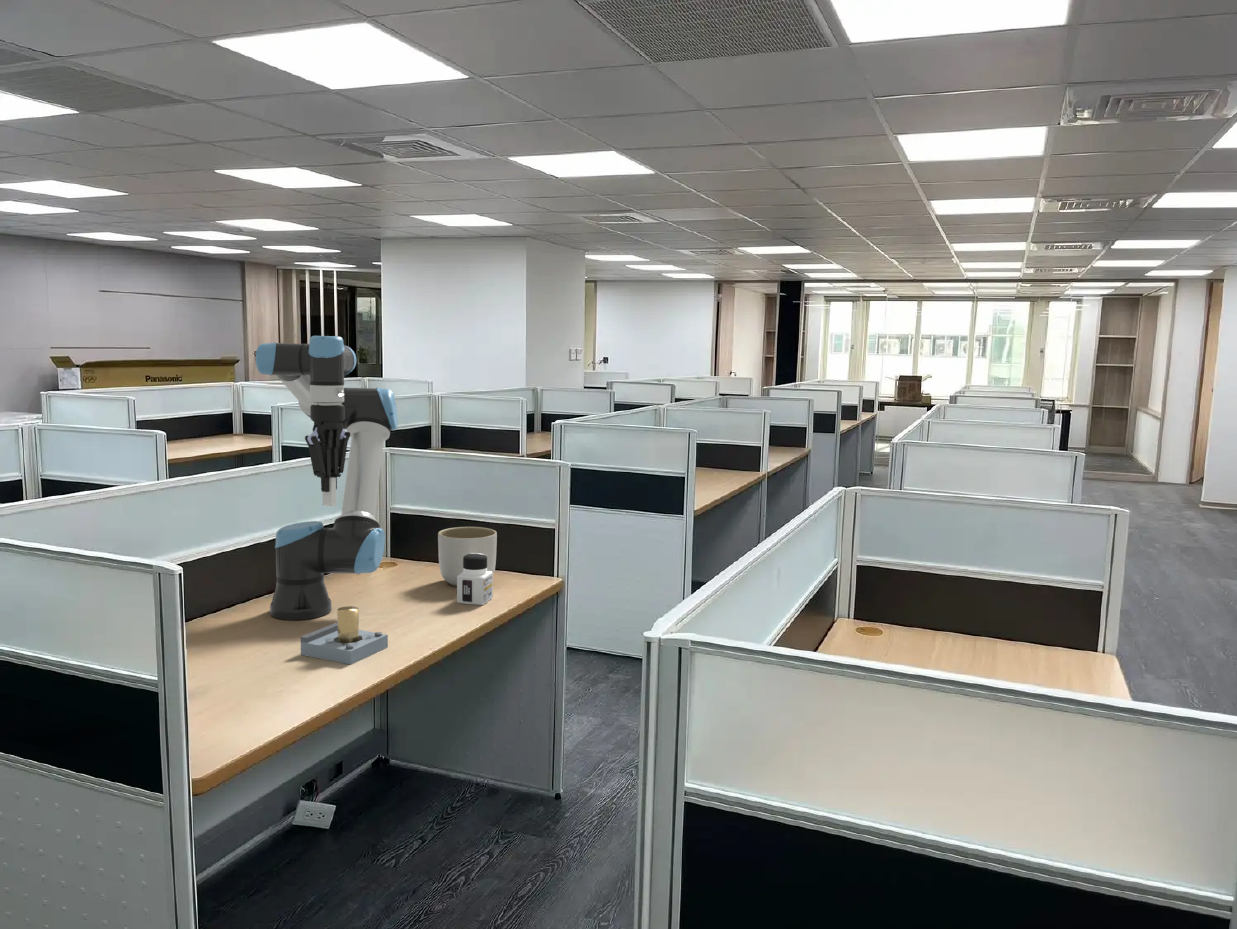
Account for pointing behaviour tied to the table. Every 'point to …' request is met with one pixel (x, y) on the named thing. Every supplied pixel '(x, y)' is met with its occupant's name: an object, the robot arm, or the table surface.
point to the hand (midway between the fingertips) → (329, 505)
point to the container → (475, 580)
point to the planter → (464, 549)
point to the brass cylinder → (348, 624)
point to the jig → (341, 645)
